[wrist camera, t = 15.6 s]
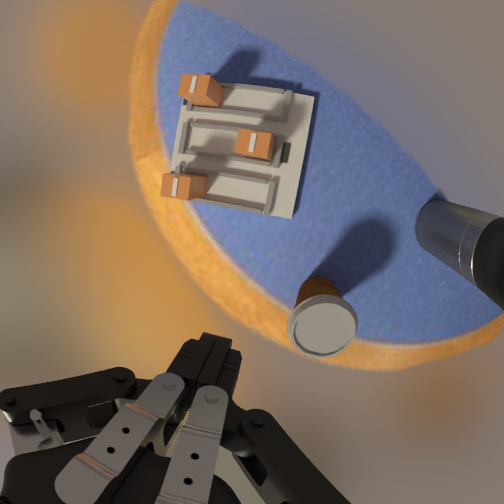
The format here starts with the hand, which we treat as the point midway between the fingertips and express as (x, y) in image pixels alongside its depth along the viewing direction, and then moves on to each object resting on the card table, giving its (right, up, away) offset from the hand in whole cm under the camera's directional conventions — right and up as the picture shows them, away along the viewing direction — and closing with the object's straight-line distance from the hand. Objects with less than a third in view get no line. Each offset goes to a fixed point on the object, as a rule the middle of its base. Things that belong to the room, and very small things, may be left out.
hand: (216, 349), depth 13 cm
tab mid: (+3, +20, +25) cm, 32 cm away
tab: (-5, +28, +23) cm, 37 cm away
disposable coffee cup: (+13, -2, +31) cm, 34 cm away
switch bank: (0, +21, +27) cm, 34 cm away
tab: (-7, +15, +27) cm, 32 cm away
